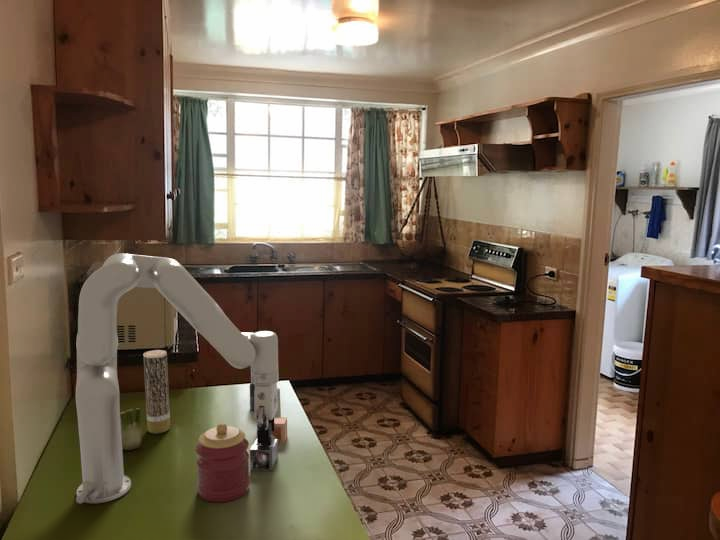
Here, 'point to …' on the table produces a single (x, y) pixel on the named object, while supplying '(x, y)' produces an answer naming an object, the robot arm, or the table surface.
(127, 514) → the table surface
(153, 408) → the paper tube
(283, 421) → the socket
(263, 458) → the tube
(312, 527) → the table surface
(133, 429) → the fennel bulb
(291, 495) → the table surface
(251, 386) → the supplement bottle
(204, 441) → the canister
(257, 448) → the sleeve
